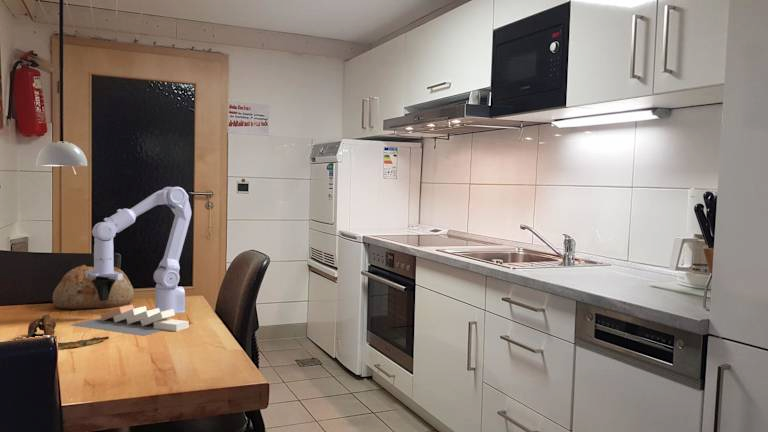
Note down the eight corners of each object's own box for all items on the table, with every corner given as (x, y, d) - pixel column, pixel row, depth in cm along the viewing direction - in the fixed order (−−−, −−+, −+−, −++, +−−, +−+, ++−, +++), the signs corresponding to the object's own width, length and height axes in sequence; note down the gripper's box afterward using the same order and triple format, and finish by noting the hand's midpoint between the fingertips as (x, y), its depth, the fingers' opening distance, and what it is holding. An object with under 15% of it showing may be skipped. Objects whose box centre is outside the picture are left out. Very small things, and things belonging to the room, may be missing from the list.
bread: (44, 312, 197) (43, 269, 196) (64, 300, 219) (64, 261, 219) (126, 310, 203) (126, 268, 203) (138, 298, 226) (138, 260, 225)
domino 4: (140, 320, 177) (160, 311, 173) (153, 317, 182) (173, 308, 178) (142, 326, 177) (162, 318, 173) (155, 323, 181) (175, 314, 178)
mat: (69, 326, 178) (69, 324, 178) (112, 316, 192) (112, 315, 192) (143, 337, 165) (143, 335, 165) (183, 326, 180) (183, 324, 180)
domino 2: (113, 316, 181) (132, 308, 178) (126, 313, 186) (145, 306, 183) (114, 322, 181) (134, 315, 178) (128, 319, 186) (147, 312, 182)
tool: (11, 337, 162) (8, 373, 137) (12, 316, 162) (9, 347, 137) (102, 332, 175) (114, 363, 149) (103, 312, 174) (116, 340, 149)
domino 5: (153, 321, 175) (176, 324, 171) (166, 318, 179) (188, 321, 176) (153, 328, 175) (176, 331, 171) (166, 324, 179) (188, 327, 176)
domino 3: (126, 318, 179) (146, 310, 176) (139, 315, 184) (159, 307, 181) (127, 324, 179) (147, 317, 176) (140, 321, 184) (160, 314, 180)
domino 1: (100, 314, 184) (119, 307, 180) (114, 312, 188) (132, 304, 185) (102, 320, 183) (121, 313, 180) (115, 317, 188) (134, 310, 185)
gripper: (77, 258, 185) (77, 300, 186) (109, 261, 179) (109, 304, 180) (95, 256, 192) (95, 297, 192) (127, 259, 186) (127, 300, 186)
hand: (103, 300), depth 186 cm, fingers closed
